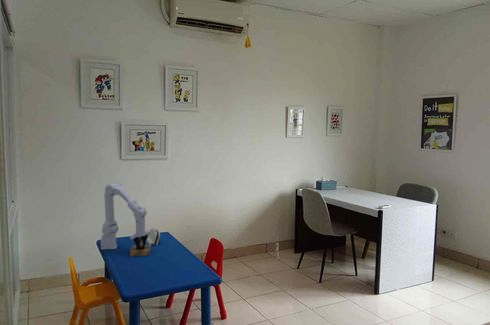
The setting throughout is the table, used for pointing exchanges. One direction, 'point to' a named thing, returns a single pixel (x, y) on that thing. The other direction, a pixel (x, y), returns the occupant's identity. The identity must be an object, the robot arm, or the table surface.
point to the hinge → (153, 237)
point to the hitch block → (140, 251)
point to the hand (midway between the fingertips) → (140, 247)
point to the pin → (141, 244)
